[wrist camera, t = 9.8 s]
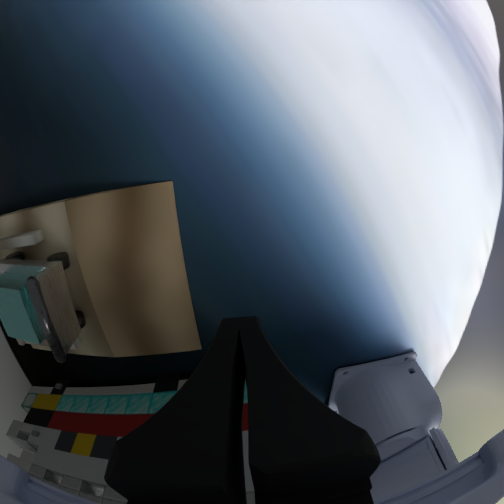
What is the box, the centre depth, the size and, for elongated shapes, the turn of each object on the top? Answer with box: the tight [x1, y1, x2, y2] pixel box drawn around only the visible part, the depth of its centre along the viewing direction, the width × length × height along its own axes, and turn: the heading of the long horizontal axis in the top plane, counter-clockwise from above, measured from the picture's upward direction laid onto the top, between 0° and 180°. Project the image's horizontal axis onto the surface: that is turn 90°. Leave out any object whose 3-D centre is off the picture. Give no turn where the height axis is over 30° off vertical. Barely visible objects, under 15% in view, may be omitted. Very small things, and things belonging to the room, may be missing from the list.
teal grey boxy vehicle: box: [0, 251, 86, 363], centre depth 16 cm, size 7×7×5 cm
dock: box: [0, 181, 202, 357], centre depth 19 cm, size 19×14×4 cm
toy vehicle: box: [6, 371, 255, 504], centre depth 19 cm, size 8×30×15 cm, turn 105°
